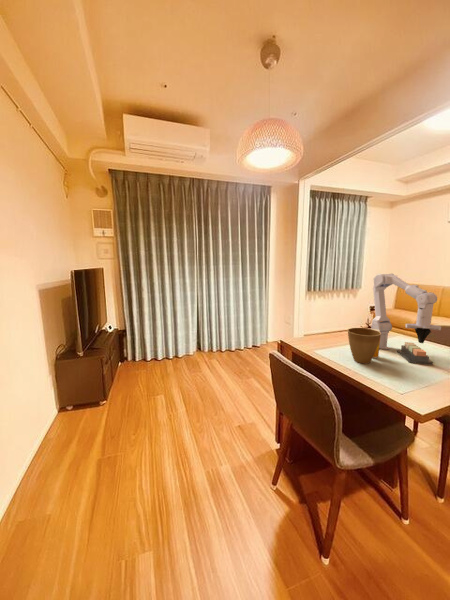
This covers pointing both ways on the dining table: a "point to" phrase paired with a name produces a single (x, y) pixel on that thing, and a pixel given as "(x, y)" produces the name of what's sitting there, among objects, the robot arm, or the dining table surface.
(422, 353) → the key terracotta
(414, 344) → the key ivory
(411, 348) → the key sage
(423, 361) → the console
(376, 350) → the beer can
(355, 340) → the plant pot
